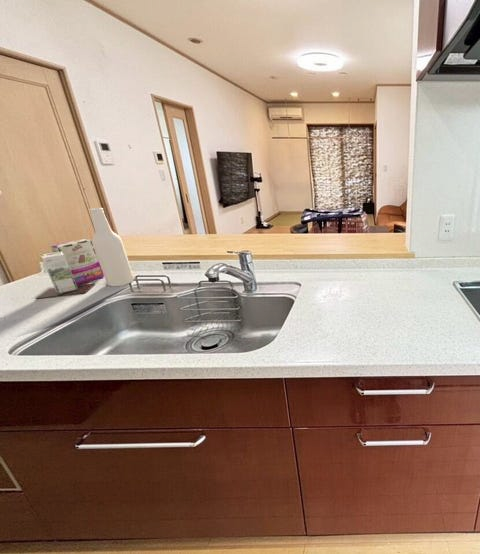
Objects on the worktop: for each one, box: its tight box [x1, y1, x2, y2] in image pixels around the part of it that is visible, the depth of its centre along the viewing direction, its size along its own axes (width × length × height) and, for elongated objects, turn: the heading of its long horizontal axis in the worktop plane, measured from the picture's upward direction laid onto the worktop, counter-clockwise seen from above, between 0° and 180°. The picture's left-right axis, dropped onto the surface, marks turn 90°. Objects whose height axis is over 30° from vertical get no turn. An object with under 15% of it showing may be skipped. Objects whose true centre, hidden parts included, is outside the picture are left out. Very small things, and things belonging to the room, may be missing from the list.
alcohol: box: [88, 207, 135, 287], centre depth 115 cm, size 9×9×30 cm
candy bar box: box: [50, 238, 105, 285], centre depth 119 cm, size 11×5×16 cm, turn 163°
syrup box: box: [40, 252, 78, 294], centre depth 110 cm, size 6×6×14 cm
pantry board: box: [35, 282, 96, 300], centre depth 112 cm, size 14×9×1 cm, turn 112°
